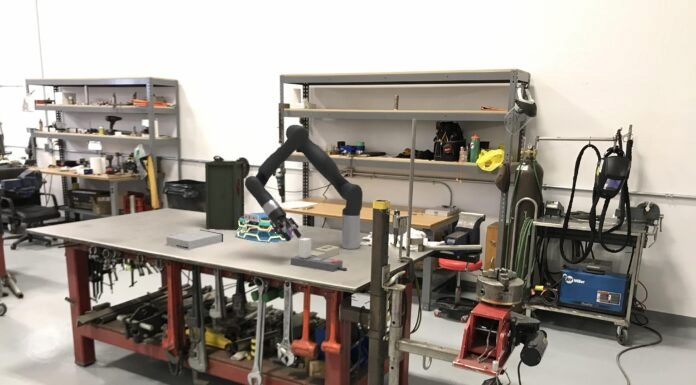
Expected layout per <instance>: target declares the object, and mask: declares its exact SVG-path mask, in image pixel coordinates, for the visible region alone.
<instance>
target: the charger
mask: <svg viewBox="0 0 696 385" xmlns="http://www.w3.org/2000/svg"><path fill="white" fill-rule="evenodd" d="M298 239H299V240H298V255H299V257H301V259H308V258H309V257H310V256H311V251H312V238H310V237H309V238H308V237H302V238H298Z"/></svg>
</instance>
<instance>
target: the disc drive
mask: <svg viewBox="0 0 696 385" xmlns="http://www.w3.org/2000/svg"><path fill="white" fill-rule="evenodd" d="M223 242H224V233H220V232H216V231H210V230H207V229H206V230H204V229H198V230H194V231H189V232H185V233H180V234H174V235H169V236H166V246H169V245H170V246H169V247H173V246H174V248H178V249H183V250H187V251H190V250H194V249H199V248H203V247H207V246H212V245H216V244H219V243H223Z"/></svg>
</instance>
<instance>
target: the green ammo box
mask: <svg viewBox="0 0 696 385" xmlns="http://www.w3.org/2000/svg"><path fill="white" fill-rule="evenodd" d="M204 172H205V173H204V174H205V175H204V178H205V179H204V180H205V183H204V184H205V226H206V227H205V228H206V230H210V229H215V230H216V231H218V230H220V231H222V230H223V231H238V230H237V229H238V228H239V222H238V221H239V219H240V217H242V216H244V213H245V161H239V160H238V161H237V160H236V161H234V160H212V161H208V162H205V163H204ZM243 219H244V217H243ZM242 224H243V222H240V225H242ZM239 229H240V228H239Z"/></svg>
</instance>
